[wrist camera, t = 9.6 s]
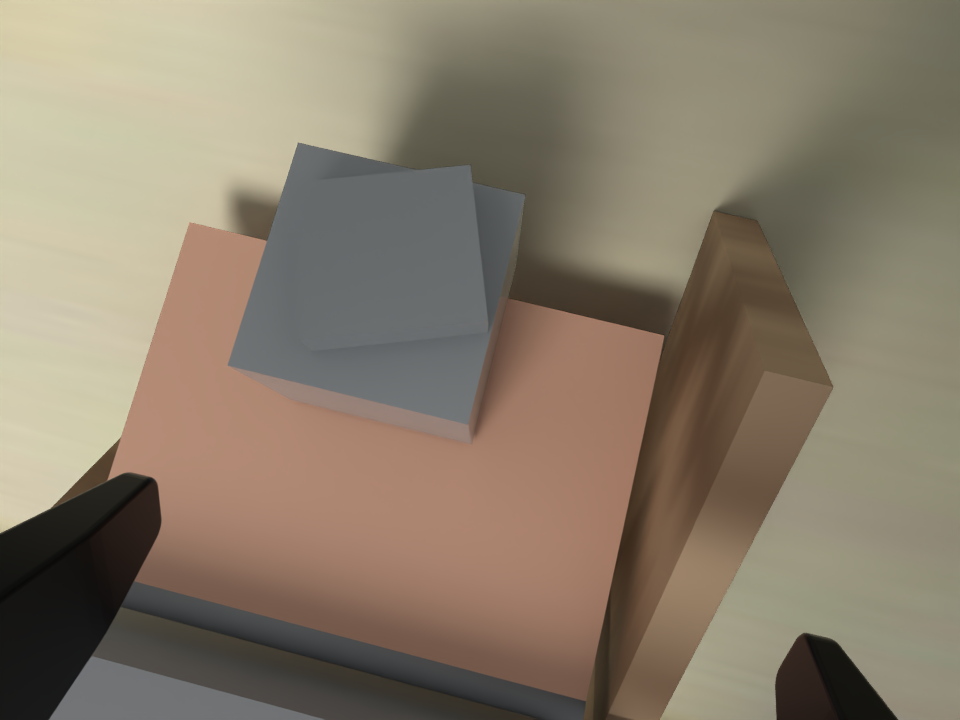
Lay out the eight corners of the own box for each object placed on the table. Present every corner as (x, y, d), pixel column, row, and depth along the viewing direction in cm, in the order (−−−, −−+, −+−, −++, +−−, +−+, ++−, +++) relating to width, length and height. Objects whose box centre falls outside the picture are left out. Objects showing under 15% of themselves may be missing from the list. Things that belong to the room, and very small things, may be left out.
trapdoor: (531, 862, 21) (544, 984, 16) (76, 736, 21) (-48, 815, 16) (642, 352, 23) (684, 319, 18) (226, 253, 24) (155, 194, 19)
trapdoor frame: (589, 641, 29) (578, 874, 22) (185, 536, 30) (47, 726, 23) (757, 220, 20) (833, 386, 13) (162, 84, 21) (-83, 168, 14)
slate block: (472, 444, 20) (467, 418, 14) (291, 399, 20) (209, 355, 14) (515, 269, 20) (528, 173, 15) (342, 228, 21) (285, 118, 15)
